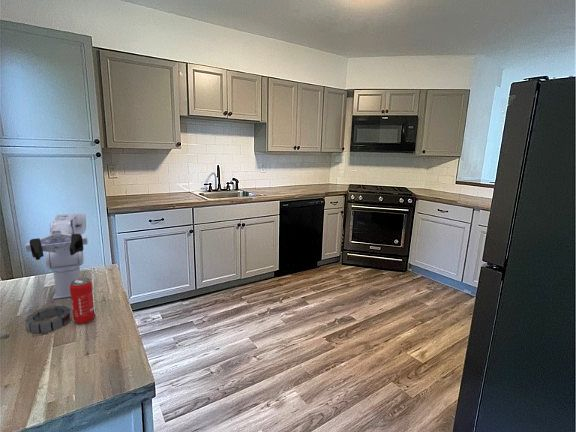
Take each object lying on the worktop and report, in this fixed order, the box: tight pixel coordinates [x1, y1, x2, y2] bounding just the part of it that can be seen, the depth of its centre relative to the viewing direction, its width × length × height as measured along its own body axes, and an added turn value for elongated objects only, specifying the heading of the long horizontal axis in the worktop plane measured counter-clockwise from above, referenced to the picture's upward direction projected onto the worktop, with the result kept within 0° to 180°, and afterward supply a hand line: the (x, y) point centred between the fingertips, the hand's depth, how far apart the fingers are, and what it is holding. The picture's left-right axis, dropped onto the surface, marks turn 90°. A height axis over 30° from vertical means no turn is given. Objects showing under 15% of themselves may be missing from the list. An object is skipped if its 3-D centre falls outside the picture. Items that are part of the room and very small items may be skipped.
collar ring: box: [25, 305, 73, 334], centre depth 89 cm, size 10×10×2 cm
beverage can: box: [70, 277, 96, 325], centre depth 90 cm, size 5×5×12 cm
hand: (54, 254), depth 86 cm, fingers open, 7 cm apart
